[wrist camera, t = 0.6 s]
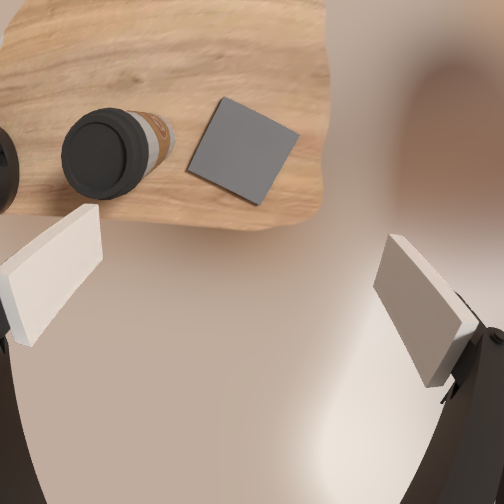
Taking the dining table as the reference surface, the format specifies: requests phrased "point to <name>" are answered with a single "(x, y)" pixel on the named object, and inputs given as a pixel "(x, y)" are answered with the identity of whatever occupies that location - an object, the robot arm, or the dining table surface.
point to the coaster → (243, 151)
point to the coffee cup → (114, 151)
